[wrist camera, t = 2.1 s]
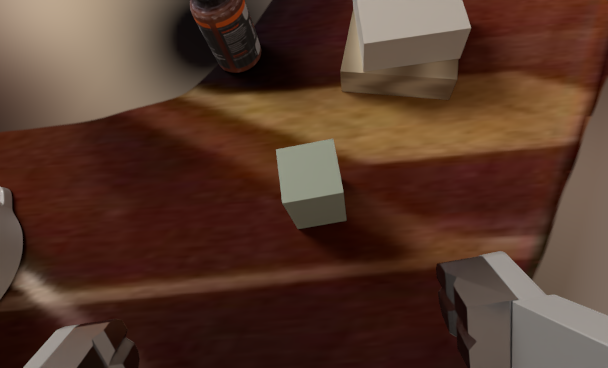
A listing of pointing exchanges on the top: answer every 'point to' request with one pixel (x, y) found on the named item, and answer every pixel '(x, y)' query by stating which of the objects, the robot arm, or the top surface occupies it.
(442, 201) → the top surface
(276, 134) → the top surface
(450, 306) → the robot arm
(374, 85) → the maple base slab
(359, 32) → the white top slab
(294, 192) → the sage block
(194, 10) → the supplement bottle
